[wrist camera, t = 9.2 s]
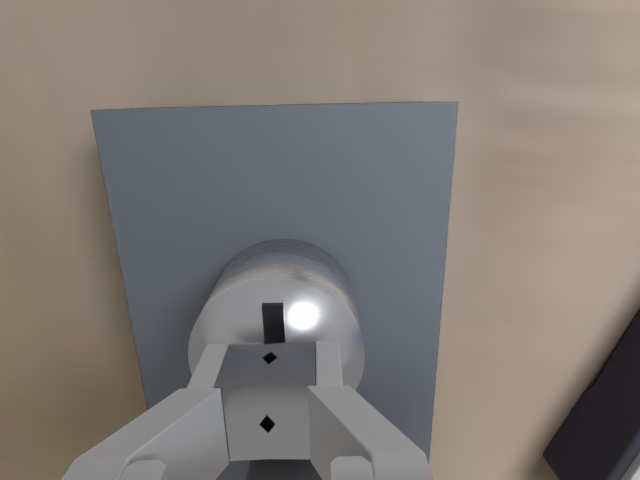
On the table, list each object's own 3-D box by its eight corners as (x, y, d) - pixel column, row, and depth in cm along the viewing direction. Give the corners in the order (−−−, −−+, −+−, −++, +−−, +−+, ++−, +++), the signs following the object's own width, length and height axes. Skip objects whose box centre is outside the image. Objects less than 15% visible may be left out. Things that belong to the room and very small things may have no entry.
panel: (147, 107, 15) (90, 110, 11) (422, 101, 15) (458, 101, 11) (215, 565, 23) (195, 658, 19) (397, 560, 23) (413, 653, 19)
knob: (233, 208, 16) (174, 284, 9) (345, 205, 16) (366, 280, 9) (242, 308, 18) (197, 436, 11) (345, 306, 18) (364, 432, 11)
